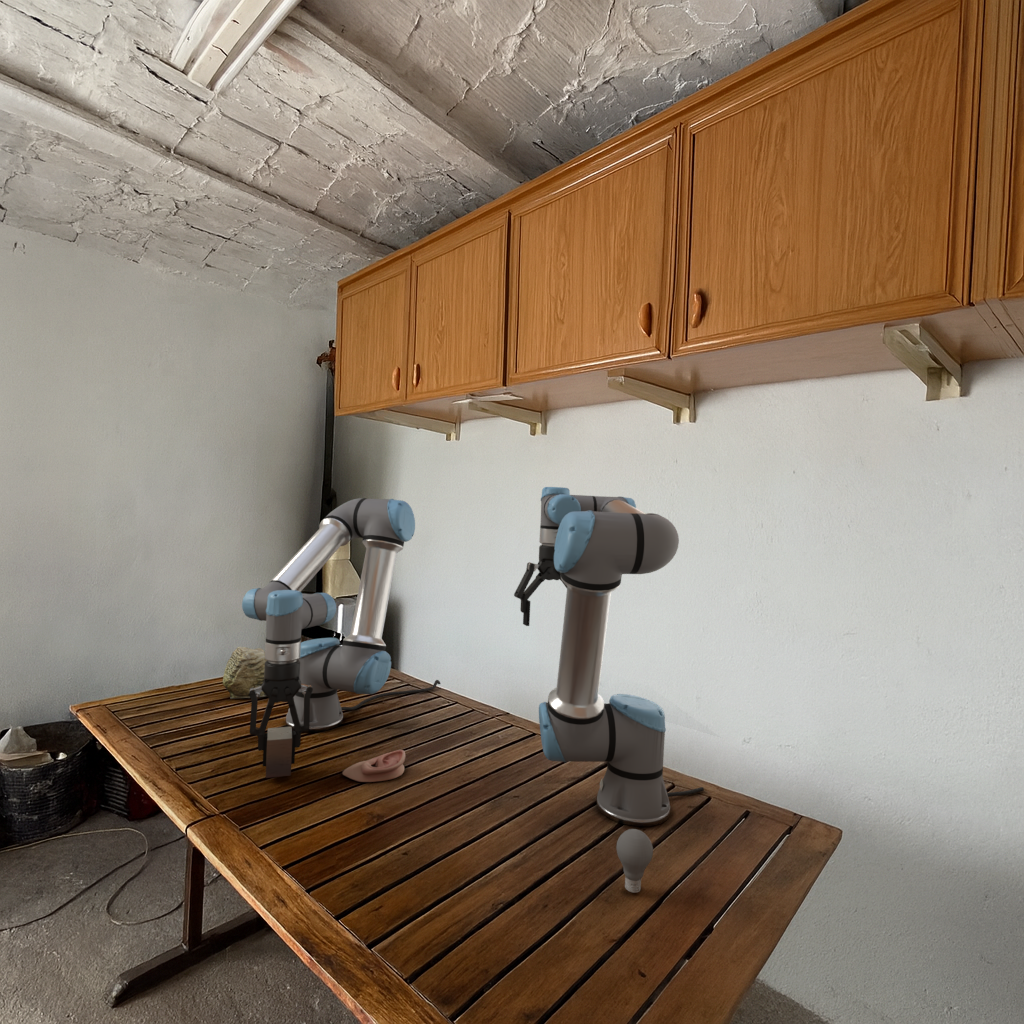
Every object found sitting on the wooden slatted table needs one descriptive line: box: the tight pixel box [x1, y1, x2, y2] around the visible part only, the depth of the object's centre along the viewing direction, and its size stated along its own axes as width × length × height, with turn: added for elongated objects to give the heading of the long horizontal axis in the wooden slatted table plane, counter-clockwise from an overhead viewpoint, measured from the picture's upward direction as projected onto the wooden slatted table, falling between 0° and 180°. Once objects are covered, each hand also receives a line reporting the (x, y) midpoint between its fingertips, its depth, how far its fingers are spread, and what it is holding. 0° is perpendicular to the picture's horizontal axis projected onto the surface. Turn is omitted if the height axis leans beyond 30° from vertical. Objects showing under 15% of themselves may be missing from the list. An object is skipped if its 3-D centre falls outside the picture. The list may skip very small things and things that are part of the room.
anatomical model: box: [342, 749, 406, 783], centre depth 146 cm, size 13×4×12 cm
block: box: [265, 726, 293, 779], centre depth 142 cm, size 5×7×8 cm
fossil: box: [222, 646, 267, 699], centre depth 198 cm, size 9×18×15 cm, turn 132°
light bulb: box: [615, 828, 654, 894], centre depth 106 cm, size 6×6×10 cm
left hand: (278, 762), depth 143 cm, fingers closed on block, 5 cm apart
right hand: (549, 624), depth 169 cm, fingers open, 13 cm apart
